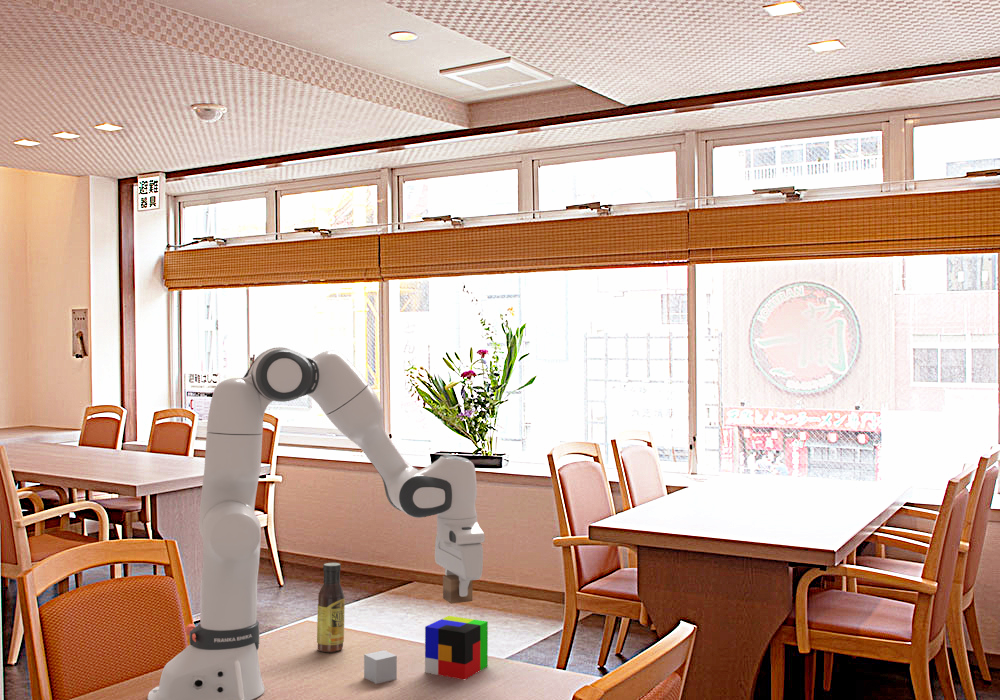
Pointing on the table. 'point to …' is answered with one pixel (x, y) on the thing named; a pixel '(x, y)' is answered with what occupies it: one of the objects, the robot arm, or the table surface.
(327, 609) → the sauce bottle
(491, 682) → the table surface
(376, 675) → the grey block
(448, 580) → the walnut block
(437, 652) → the puzzle toy
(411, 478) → the robot arm
